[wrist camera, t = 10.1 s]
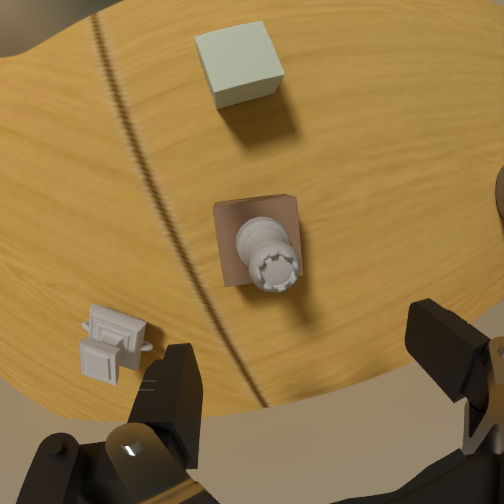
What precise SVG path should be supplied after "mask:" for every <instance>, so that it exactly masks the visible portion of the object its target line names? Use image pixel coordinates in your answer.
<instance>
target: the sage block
mask: <svg viewBox="0 0 504 504" xmlns="http://www.w3.org/2000/svg"><path fill="white" fill-rule="evenodd" d="M195 42H196V46H197V50H198V55H199V59H200V63H201V66H202V69H203V72H204V74H205V77H206V80H207V83H208V86H209V89H210V92H211V95H212V98H213V101H214V103H215V106H216V109H217V110H218V109H221V108H224V107H227V106H231V105H234V104H237V103H241V102H244V101H248V100H252V99H256V98H259V97H263V96H267V95H272V94H274V92H275V91H276V89H277V87H278V86H279V84H280V82H281V80H282V79H283V77H284V75H285V73H284V71H283V68H282V66H281V63H280V61H279V59H278V56H277V54H276V51H275V49H274V47H273V44H272V42H271V40H270V37H269V35H268V33H267V31H266V29H265V26H264V24H263V22H262V21H257V22H252V23H247V24H242V25H237V26H233V27H228V28H224V29H220V30H216V31H212V32H209V33H205V34H202V35H198V36H195Z"/></svg>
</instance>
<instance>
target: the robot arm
mask: <svg viewBox="0 0 504 504" xmlns="http://www.w3.org/2000/svg"><path fill="white" fill-rule="evenodd" d="M496 201H497V206H498V210H499V213H500V215H501V216H502V218H504V167H503V168H502V169H501V170H500V172H499V175H498V179H497V184H496ZM405 346H406V349H407V351H408V352H409V354H410V355H411V356H412V357H413V358H414V359H415V360H416V361H417V362H418V363H419V365H420V366H421V367H422V368H423V369H424V370H425V371H426V372H427V373H428V374H429V375H430V377H431V378H432V379H433V380H434V381H435V382H436V383H437V384H438V386H439V387H440V388H441V389H442V390H443V391H444V392H445V393H446V395H447V396H448V397H449V398H450V399H451V400H452V401H453V403H455V402H457V401H458V400H460V399H462V398H464V397H466V398H467V401H466V403H465V412H464V414H465V415H464V436H463V446H462V450H460V449H457V450H455V451H454V452H452V453H450V454H449V455H447V456H445V457H444V458H442V459H440V460H438V461H436V462H435V463H433V464H431V465H429V466H428V467H427V468H425V469H424V470H423V471H422V472H421V473H419V474H418V475H417V476H416V477H415V478H413V479H412V480H411V481H409V482H408V483H406V484H405V485H404V486H403V487H401V488H400V489H398V490H396V491H394V492H390V493H385V494H379V495H373V496H366V497H358V498H349V499H345V500H342V501H339V502H334V503H331V504H504V337H503V336H501V337H495V338H493V339H492V340H491V339H489V338H488V337H487V336H485V335H484V334H483V333H481V332H480V331H478V330H477V329H476V328H475V327H473V326H472V325H471V324H467V322H466V321H465V320H464V319H461V317H459V316H458V315H457V314H455V313H454V312H452V311H450V310H447V309H444V308H443V307H441V306H440V305H439V304H437V303H436V302H434V301H433V300H431V299H429V298H427V299H424V300H420V301H417V302H413V303H412V304H411V305H410V307H409V312H408V320H407V327H406V333H405ZM202 401H203V385H202V379H201V375H200V372H199V369H198V365H197V362H196V358H195V355H194V351H193V348H192V345H191V344H190V343H184V344H172V345H168V347H167V349H166V353H165V356H164V359H163V360H155V361H154V362H153V363H152V364H151V365H150V366H149V367H148V368H147V369H146V372H145V374H144V377H143V382H141V385H140V388H139V391H138V393H137V396H136V399H135V402H134V405H133V407H132V410H131V413H130V416H129V419H128V422H127V424H123V425H121V426H119V427H117V428H116V429H114V430H113V431H112V432H111V433H110V434H109V435H108V437H107V439H106V441H104V442H98V443H91V444H82V445H80V444H79V443H78V442H77V441H76V440H75V438H74V437H73V436H71V435H70V434H67V433H55V434H52V435H50V436H48V437H46V438H45V439H44V440H43V441H42V442H41V444H40V445H39V448H38V450H37V452H36V454H35V456H34V459H33V461H32V463H31V466H30V468H29V470H28V473H27V475H26V478H25V480H24V483H23V485H22V488H21V491H20V494H19V496H18V499H17V502H16V504H220V503H219V502H218V501H217V500H216V499H215V498H214V497H213V496H212V495H211V494H210V493H209V492H208V491H207V490H206V489H205V488H204V487H203V486H202V485H201V484H200V483H198V482H195V481H194V480H193V479H192V478H191V477H190V475H189V474H188V473H187V472H186V469H197V467H198V452H199V438H200V425H201V413H202Z"/></svg>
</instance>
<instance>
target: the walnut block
mask: <svg viewBox="0 0 504 504" xmlns="http://www.w3.org/2000/svg"><path fill="white" fill-rule="evenodd" d="M213 214H214V221H215V228H216V235H217V241H218V248H219V254H220V261H221V267H222V273H223V279H224V285H225V287H230V286H237V285H244V284H251V283H253V282H252V280H251V278H250V274H249V271H248V269H249V267H247V266H246V265H245V264H244V263H243V262H242V261H241V259H240V258H239V256H238V253H237V250H236V247H235V244H236V235H237V233H238V232H239V230H240V228H241V226H242V225H244V224H245V223H246V222H248V221H249V220H250V219H253V218H257V217H269V218H272V219H274V220H276V221H278V222H279V223H281V225H282V226H283V227H284V229H285V230H286V232H287V233H288V237H289V241H290V246H292V247H293V248H294V249H295V250H296V252H297V253H298V254H299V256H300V260H301V264H302V256H301V243H300V230H299V219H298V208H297V198H296V197H294V196H291V195H287V194H278V195H269V196H261V197H253V198H245V199H237V200H230V201H223V202H216V203H215V204H214V206H213ZM299 276H303V270H302V266H301V271H300V275H299Z"/></svg>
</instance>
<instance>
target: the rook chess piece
mask: <svg viewBox="0 0 504 504" xmlns="http://www.w3.org/2000/svg"><path fill="white" fill-rule="evenodd" d="M235 247H236V250H237V253H238V256H239V258H240V259H241V261H242V262H243V263H244V264H245V265H246V266H247V267H249V269H248V271H249V274H250V278H251V280H252V282H253V283H254V284H255V285H256V286H257V287H258V288H260V289H262V290H264V291H266V292H275V293H277V292H279V293H281V292H284V291H287V289H288V288H289V287H291V286H292V285H293V286H294V284H295V283H296V281H297V280H298V277H299V275H300V271H301V266H302V264H301V260H300V256H299V254H298V253H297V252H296V250H295V249H294V248H293V247H292V246H290V241H289V237H288V233H287V232H286V230H285V229H284V227H283V226H282V225H281V223H279V222H278V221H276V220H274V219H272V218H269V217H257V218H253V219H250V220H249V221H248V222H246V223H245V224H244V225H242V226H241V228H240V230H239V232H238V233H237V235H236V244H235Z"/></svg>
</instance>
